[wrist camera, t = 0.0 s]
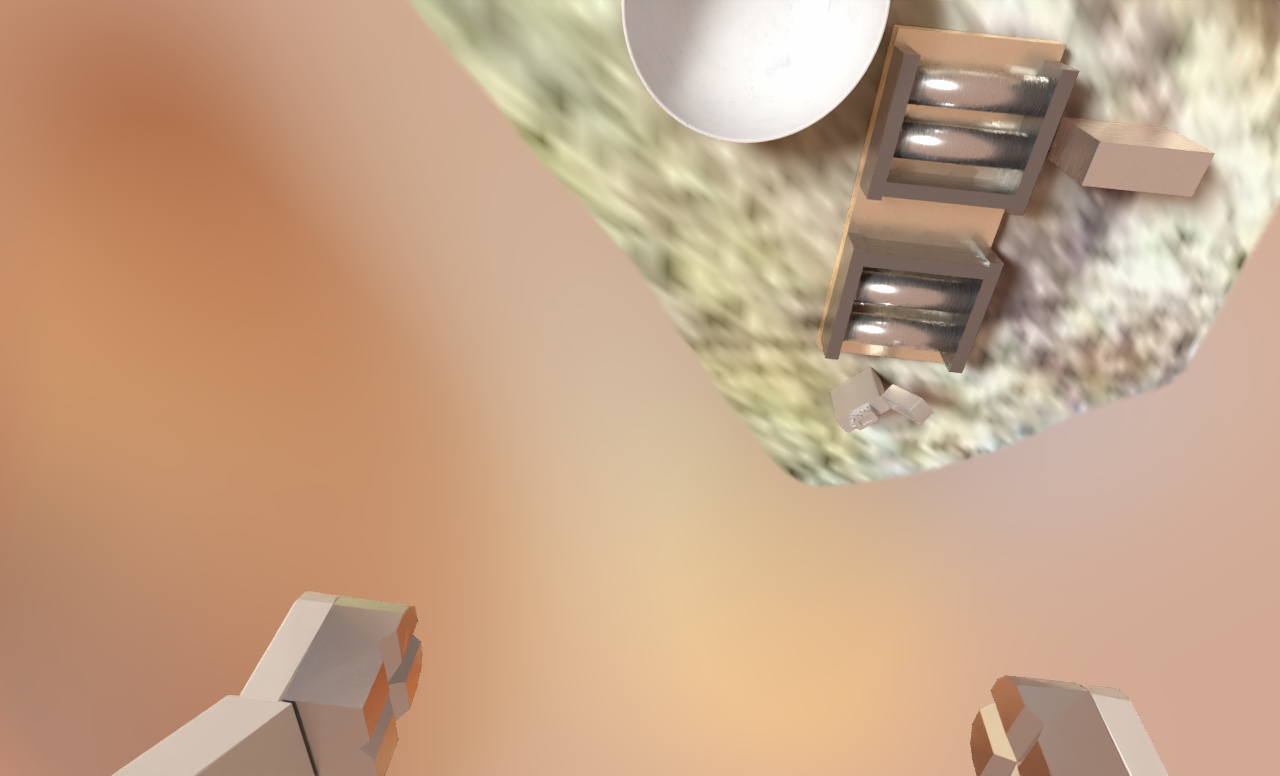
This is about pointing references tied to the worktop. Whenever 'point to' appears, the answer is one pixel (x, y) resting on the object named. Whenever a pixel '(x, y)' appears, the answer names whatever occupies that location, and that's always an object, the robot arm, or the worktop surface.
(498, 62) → the worktop surface
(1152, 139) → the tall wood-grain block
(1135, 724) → the robot arm
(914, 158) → the metal roller rack
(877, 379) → the lighter
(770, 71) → the chinaware
